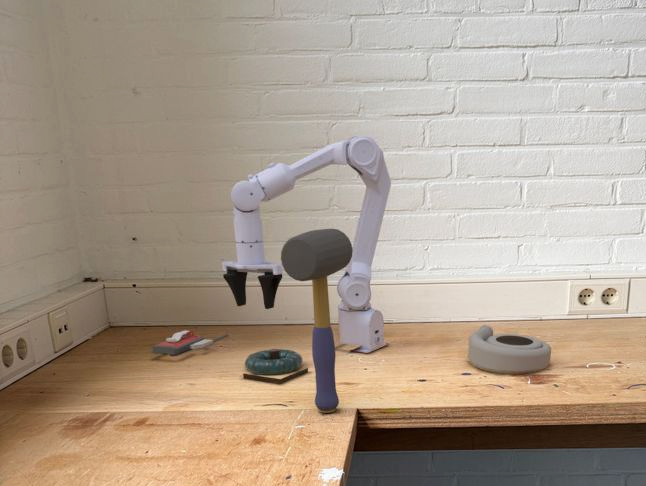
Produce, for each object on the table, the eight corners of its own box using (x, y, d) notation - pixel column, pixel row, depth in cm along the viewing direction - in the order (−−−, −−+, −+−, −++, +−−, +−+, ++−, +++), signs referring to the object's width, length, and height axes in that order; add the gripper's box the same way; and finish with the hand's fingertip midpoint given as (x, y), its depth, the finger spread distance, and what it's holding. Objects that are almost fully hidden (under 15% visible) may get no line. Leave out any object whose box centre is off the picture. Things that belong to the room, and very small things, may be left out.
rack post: (308, 372, 158) (306, 347, 157) (280, 384, 151) (278, 357, 149) (272, 367, 163) (270, 342, 161) (243, 378, 155) (240, 352, 154)
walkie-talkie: (183, 363, 167) (232, 341, 185) (180, 343, 166) (230, 322, 184) (147, 361, 170) (199, 339, 188) (144, 340, 168) (197, 321, 186)
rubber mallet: (329, 425, 128) (318, 234, 118) (289, 420, 131) (274, 233, 121) (363, 402, 139) (355, 226, 129) (325, 398, 142) (314, 225, 132)
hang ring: (313, 365, 159) (312, 350, 158) (280, 379, 150) (278, 364, 149) (269, 359, 164) (268, 345, 163) (234, 373, 155) (232, 358, 154)
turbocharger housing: (536, 384, 151) (556, 364, 164) (540, 351, 148) (560, 333, 161) (453, 370, 157) (479, 352, 170) (455, 337, 155) (481, 322, 167)
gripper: (209, 242, 165) (216, 307, 170) (264, 245, 158) (270, 313, 163) (232, 238, 171) (238, 301, 176) (286, 241, 164) (291, 306, 169)
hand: (255, 306), depth 170 cm, fingers open, 7 cm apart
